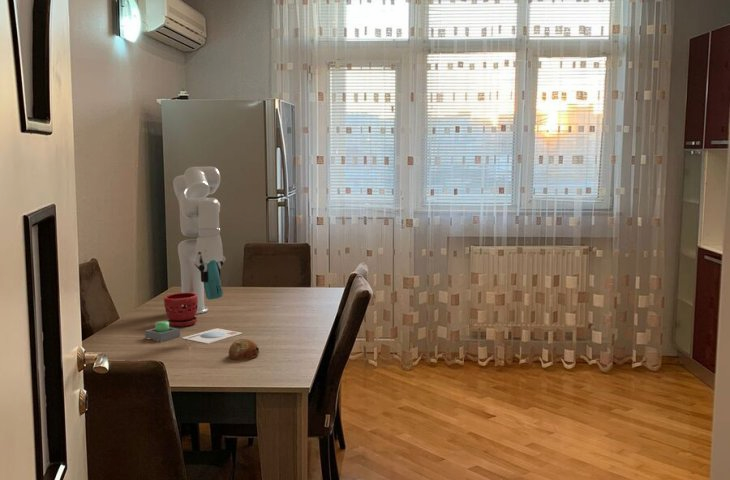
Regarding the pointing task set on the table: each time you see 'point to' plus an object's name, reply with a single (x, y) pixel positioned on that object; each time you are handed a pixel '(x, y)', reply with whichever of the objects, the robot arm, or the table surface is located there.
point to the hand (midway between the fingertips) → (210, 280)
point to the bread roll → (243, 350)
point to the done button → (162, 326)
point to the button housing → (162, 334)
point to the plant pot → (181, 308)
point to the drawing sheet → (212, 335)
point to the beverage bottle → (212, 281)
